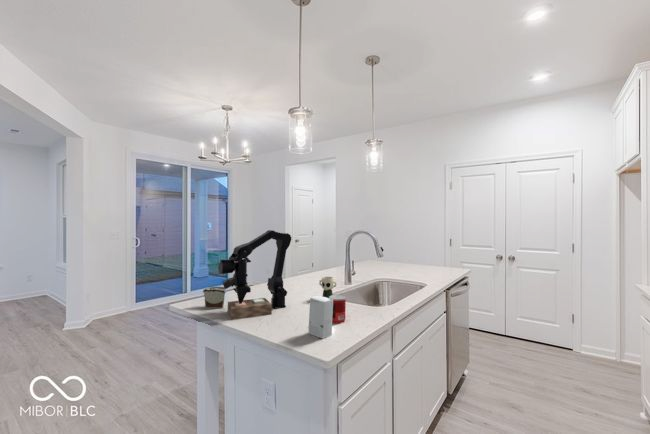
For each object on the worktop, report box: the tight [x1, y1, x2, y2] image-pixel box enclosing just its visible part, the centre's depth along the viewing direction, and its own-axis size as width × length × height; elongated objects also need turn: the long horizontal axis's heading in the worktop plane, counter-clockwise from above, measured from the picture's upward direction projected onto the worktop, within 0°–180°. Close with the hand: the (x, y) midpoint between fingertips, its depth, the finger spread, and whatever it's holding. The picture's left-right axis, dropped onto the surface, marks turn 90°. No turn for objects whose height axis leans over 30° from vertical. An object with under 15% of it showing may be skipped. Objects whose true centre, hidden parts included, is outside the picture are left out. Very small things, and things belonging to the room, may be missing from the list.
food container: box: [202, 286, 227, 309], centre depth 160 cm, size 12×6×10 cm, turn 84°
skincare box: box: [308, 295, 333, 340], centre depth 122 cm, size 8×6×15 cm
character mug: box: [318, 276, 337, 298], centre depth 174 cm, size 11×7×13 cm, turn 64°
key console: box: [227, 297, 273, 320], centre depth 149 cm, size 19×13×5 cm
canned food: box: [329, 294, 347, 324], centre depth 138 cm, size 8×8×11 cm
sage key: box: [252, 298, 265, 304], centre depth 151 cm, size 5×5×4 cm
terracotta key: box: [234, 302, 246, 306], centre depth 147 cm, size 5×5×4 cm
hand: (240, 303), depth 147 cm, fingers closed, pressing on terracotta key
